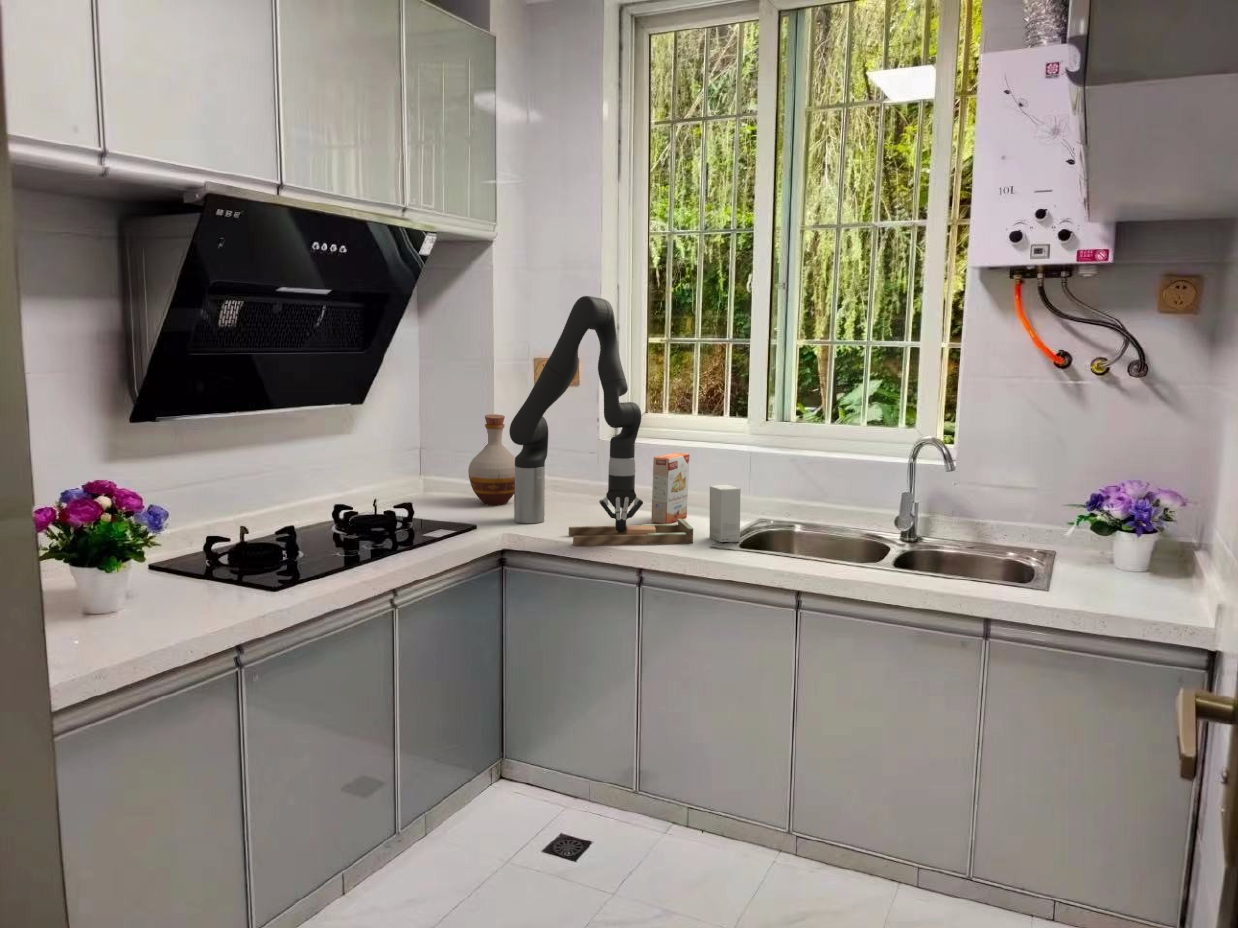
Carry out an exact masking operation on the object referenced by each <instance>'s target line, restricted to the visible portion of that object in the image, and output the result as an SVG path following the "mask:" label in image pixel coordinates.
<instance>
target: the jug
mask: <svg viewBox="0 0 1238 928" xmlns="http://www.w3.org/2000/svg"><path fill="white" fill-rule="evenodd" d="M505 417H506V416H505V415H503V414H498V413H495V414H494V413H493V414H486V415H484V418H485V424H484V427H485V429H486V434H488V444H487V445H486V446H485V447H484V446H483V448H482V450H481V451H479V453H477V454H476V455H475V457H473V458H472V460H471V461H470V463H469V466H468V468H467V469H468V471H467V472H468V480H469V483H470V486H471V488H472V490H473V492H474V494H475V495H476V497H477V498H478V499H479V501H481V503H482V504H483V503H484V504H483V505H486V504H488V505H487V506H503V505H507V504H508V503H509V501H510V500H511V499H512V497H514V489H515V457H516V456H514V455H513V454H512V453H511V452H510V451H509V450H508V448H506V447H505V446H504V445H503V441H502V439H503V430H504V428H505V424H504V422H505Z"/></svg>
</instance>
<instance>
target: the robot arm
mask: <svg viewBox="0 0 1238 928" xmlns="http://www.w3.org/2000/svg"><path fill="white" fill-rule="evenodd" d="M588 330H592V331H595V333H596V336H597V338H598V343H599V356H598V362H597V371H598V378H599V380H600V384H601V388H602V391H603V416H604V420H605V423H606V424H607V426H609V428H610V427H611V428H612V429H619V428H621V429H620V430H621V431H620V433H618V434H617V435H614V436H612V437H611V438H610V440H609V441H610V442H609V461H608V481H607V482H608V483H607V485H608V486H607V492H606V493H605V494H606V495H605V497H604V498H603V499H600V500H599V505H600V506H601V507H602V508H603V509H604V511H605V512H606V513H607V514H608V516H609V517H610V518H611V519H614V520H615V525H614V526H615V528H616V530H617V531H618V533H624V531H625V530H626V526H627V520H628V519H631V518H633V517H634V516H635V515H636V513H637V512H638V511H639V509H641V507H642V505H644V502H643V500H642V499H641V498H639V497H637V493H636V491H635V490H636V489H635V488H636V487H635V485H636V484H635V482H636V481H635V480H636V479H635V478H636V460H635V455H636V454H635V451H636V450H635V447H636V446H635V445H636V440H637V438H638V433H639V430H640V428H641V427H640V426H641V424H642V423H641V422H642V411H641V408H640V405H638V404H637V403H635V402H631V401H628V402H625V401H624V402H620V397H622V396H624V395H626V393H627V392H628V389H629V387H628V383H627V379H626V376H625V372H624V369H623V365H622V361H621V358H620V352H619V351H620V350H619V344H618V337H617V336H618V335H617V328H616V320H615V313H614V309H613V306H612V304H611V303H610V301H608V300H607V299H604V298H600V297H596V296H589V295H583V296H581V297H579V298H578V299H577V300H576V301H575V302H574V304H573V306H572V308H571V310H570V312H569V315H568V317H567V320H566V322H565V324H564V327H563V329H562V331H561V334H560V336H559V338H558V340H557V342H556V344H555V346H554V348H553V350H552V352H551V354H550V355H549V358H548V359H547V360H546V362H545V364H544V366H543V368H542V370H541V372H540V374H539V377H538V378H537V380H536V382H535V383H534V385H533V387H532V389H531V391H530V393H529V394H528V396H527V398H526V399H525V401H524V403H523V404H522V406H521V407H520V408H519V410H518V411H517V412H516V415H514V418H512V420H511V423H510V425H509V430H508V431H509V433H508V434H509V437H510V440H511V441H512V442H513V443H514V444H516V445H519V446H522V449H520V450H521V451H520V452H519V453H518V454H517V455H516V456H514V457H515V489H514V495H513V497H514V501H513V504H514V505H513V510H514V512H513V513H514V514H513V515H514V516H513V519H514V523H515V524H516V523H517V524H519V523H520V524H539V523H543V522H544V521H545V515H546V513H545V500H546V499H545V497H546V496H545V492H546V491H545V488H546V487H545V480H546V479H545V478H546V477H545V472H546V471H545V470H546V469H545V468H546V467H545V466H546V465H545V463H546V460H547V457H548V453H549V452H548V449H549V447H548V446H549V425H548V422H547V420H546V418H545V417H544V415H545V413H546V412H547V411H548V409H549V408H550V407H551V406H552V405H553V404H555V402H557V400H559V399H560V398H561V397H562V396H563V395H564V394H565V392H566V391H567V390H568V388H569V387H570V385H571V383H572V382H573V380H574V378H575V376H576V374H577V372H578V369H579V368H578V366H579V347H580V344H581V342H582V340H583V338H584V336H585V334H586V333H587V331H588ZM608 501H609V502H608ZM609 503H610V504H611V506H613V508H614V512H613V511H612V510H611V509H610V507H609V506H608V505H609ZM632 504H633V506H632V507H631V505H632ZM629 507H630V509H628V508H629ZM628 510H629V511H628Z"/></svg>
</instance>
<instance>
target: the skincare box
mask: <svg viewBox="0 0 1238 928" xmlns="http://www.w3.org/2000/svg"><path fill="white" fill-rule="evenodd" d="M709 538H710V539H712V540H714V541H716V542H718V541H719V542H718V543H720V542H729V543H739V542H740V541H741V488H740V487H737V486H736V487H735V486H733V485H731V484H719V485H716V484H715V485H709Z"/></svg>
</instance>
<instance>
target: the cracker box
mask: <svg viewBox="0 0 1238 928" xmlns="http://www.w3.org/2000/svg"><path fill="white" fill-rule="evenodd" d="M652 463H653V465H652V466H653V468H652V491H651V493H652V495H651V517H650V518H651V520H650V522H651V523H652V524H673V523H674V522H678V519H684V520H685V519H686V518H687V517H688V498H689V495H688V493H689V477H690V476H689V475H690V474H689V473H690V454H689V453H686V452H685V453H683V452H671V453H667V454H661V455H658V456H653V461H652Z"/></svg>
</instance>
